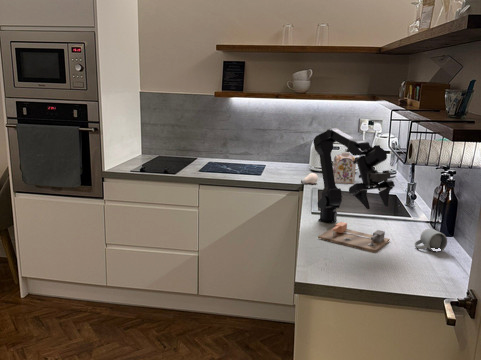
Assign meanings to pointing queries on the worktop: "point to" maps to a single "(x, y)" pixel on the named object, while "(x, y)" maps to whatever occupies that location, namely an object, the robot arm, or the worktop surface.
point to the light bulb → (310, 179)
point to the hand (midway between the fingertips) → (377, 208)
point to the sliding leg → (340, 227)
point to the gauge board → (357, 239)
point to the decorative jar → (344, 168)
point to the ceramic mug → (432, 240)
